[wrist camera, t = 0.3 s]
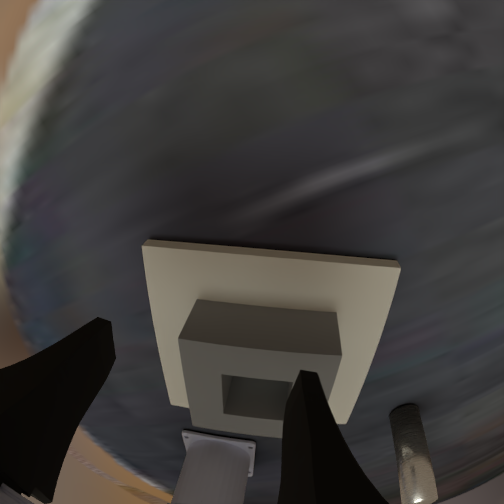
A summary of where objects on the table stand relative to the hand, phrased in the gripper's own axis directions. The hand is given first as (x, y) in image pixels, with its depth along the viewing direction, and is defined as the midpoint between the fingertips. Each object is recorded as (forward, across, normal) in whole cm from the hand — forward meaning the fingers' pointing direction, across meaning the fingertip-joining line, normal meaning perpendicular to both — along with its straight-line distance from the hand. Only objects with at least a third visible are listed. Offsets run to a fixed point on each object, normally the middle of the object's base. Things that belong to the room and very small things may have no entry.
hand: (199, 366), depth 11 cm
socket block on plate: (+10, -3, +7) cm, 13 cm away
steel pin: (+10, -18, +13) cm, 24 cm away
